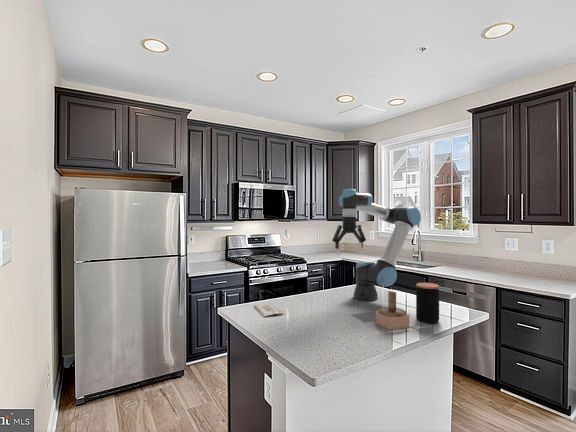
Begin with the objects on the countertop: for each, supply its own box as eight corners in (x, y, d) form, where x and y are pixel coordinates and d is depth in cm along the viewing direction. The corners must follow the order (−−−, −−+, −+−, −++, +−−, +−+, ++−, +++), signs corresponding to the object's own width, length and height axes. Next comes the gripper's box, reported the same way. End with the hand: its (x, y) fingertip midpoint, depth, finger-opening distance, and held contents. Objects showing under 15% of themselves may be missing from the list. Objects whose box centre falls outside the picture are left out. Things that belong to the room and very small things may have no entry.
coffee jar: (421, 316, 174) (421, 281, 174) (442, 320, 167) (442, 284, 167) (412, 320, 167) (412, 284, 167) (433, 325, 159) (434, 288, 159)
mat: (372, 312, 181) (372, 311, 181) (388, 320, 167) (388, 319, 167) (349, 315, 176) (349, 314, 176) (364, 323, 163) (364, 322, 163)
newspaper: (286, 316, 177) (285, 311, 176) (264, 320, 173) (263, 316, 172) (273, 304, 198) (273, 300, 198) (253, 309, 194) (253, 304, 194)
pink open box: (394, 320, 167) (394, 308, 167) (409, 327, 156) (409, 314, 156) (375, 323, 163) (375, 310, 163) (389, 330, 153) (389, 317, 153)
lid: (394, 308, 168) (394, 288, 168) (411, 315, 156) (411, 293, 156) (373, 310, 164) (373, 290, 164) (389, 317, 152) (389, 295, 152)
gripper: (364, 216, 196) (364, 252, 196) (326, 216, 188) (326, 254, 188) (372, 216, 189) (372, 254, 189) (332, 216, 181) (332, 255, 181)
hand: (349, 254), depth 188 cm, fingers open, 13 cm apart
